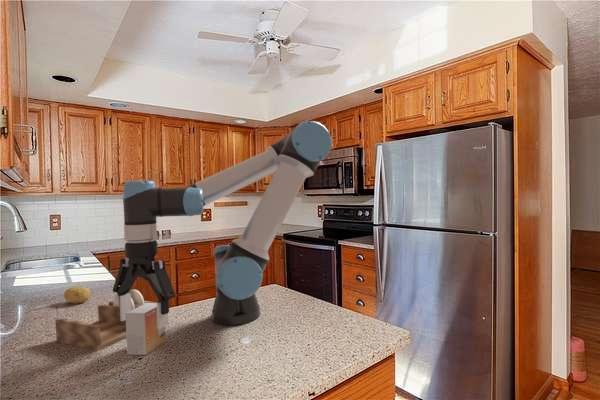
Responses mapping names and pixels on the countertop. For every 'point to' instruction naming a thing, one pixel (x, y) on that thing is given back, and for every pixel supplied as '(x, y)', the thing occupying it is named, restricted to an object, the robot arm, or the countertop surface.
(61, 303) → the countertop surface
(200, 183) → the robot arm
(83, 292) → the potato
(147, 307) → the small box
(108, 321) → the rack
